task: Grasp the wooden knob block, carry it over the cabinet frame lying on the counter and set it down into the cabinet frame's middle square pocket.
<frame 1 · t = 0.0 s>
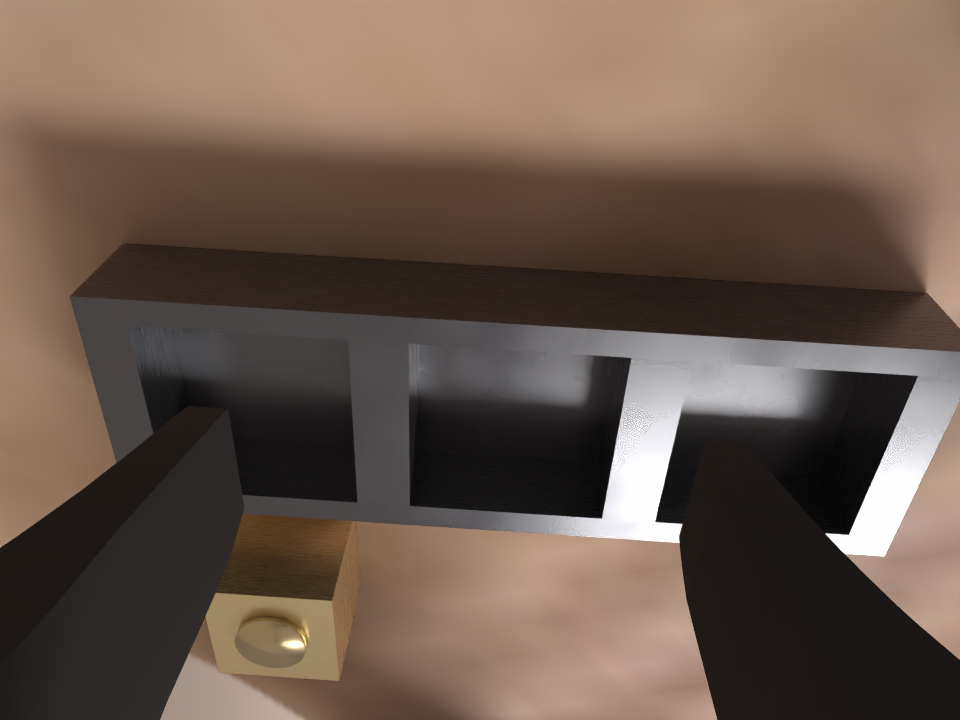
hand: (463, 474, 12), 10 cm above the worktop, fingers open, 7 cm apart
cabinet frame: (513, 373, 23), on the worktop
wooden knob block: (302, 543, 28), on the worktop
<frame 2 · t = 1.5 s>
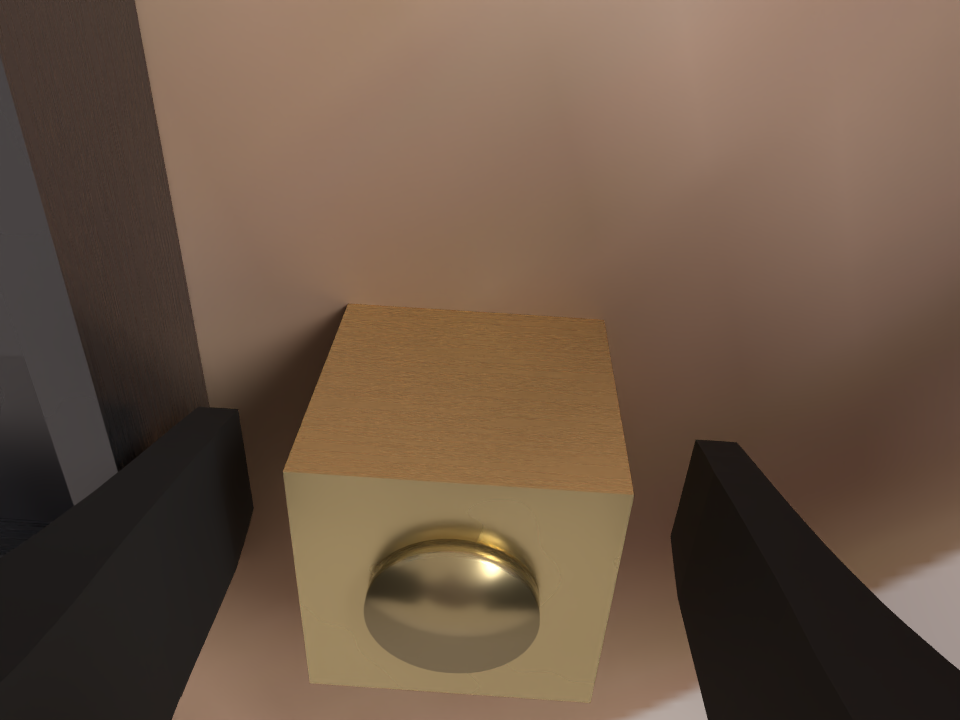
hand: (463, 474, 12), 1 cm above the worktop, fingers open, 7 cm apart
wooden knob block: (471, 410, 13), on the worktop
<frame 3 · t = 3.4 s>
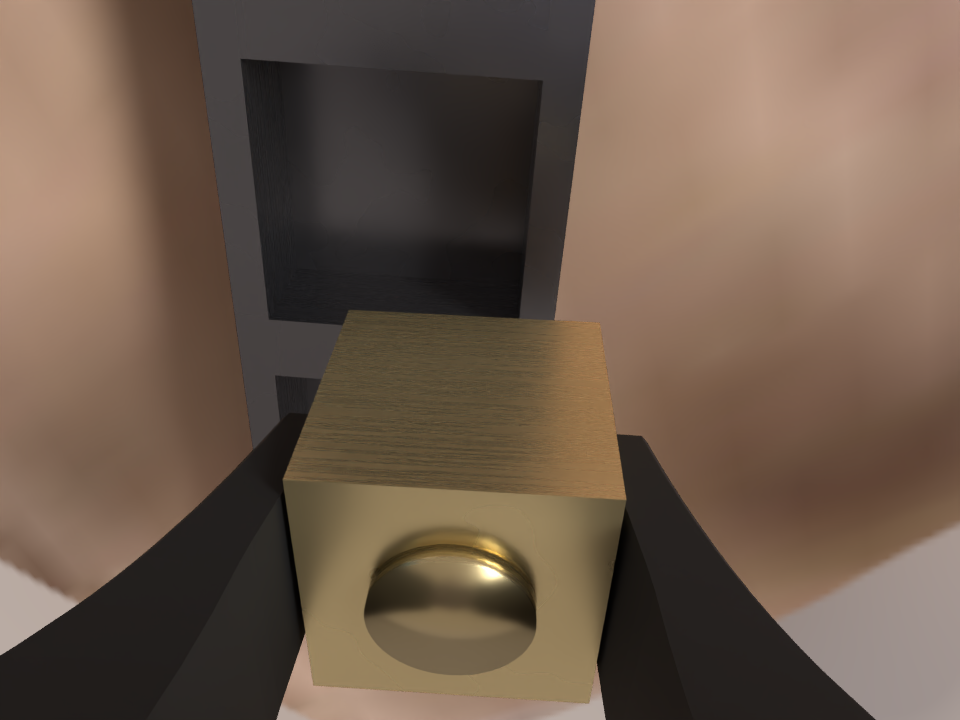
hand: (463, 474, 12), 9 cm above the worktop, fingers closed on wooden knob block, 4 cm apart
cabinet frame: (411, 161, 18), on the worktop
wooden knob block: (470, 415, 13), point 7 cm above the worktop, touching gripper
when the fingers open (3 cm above the worktop, at t = 5.0 s): wooden knob block stays where it is, resting on cabinet frame.
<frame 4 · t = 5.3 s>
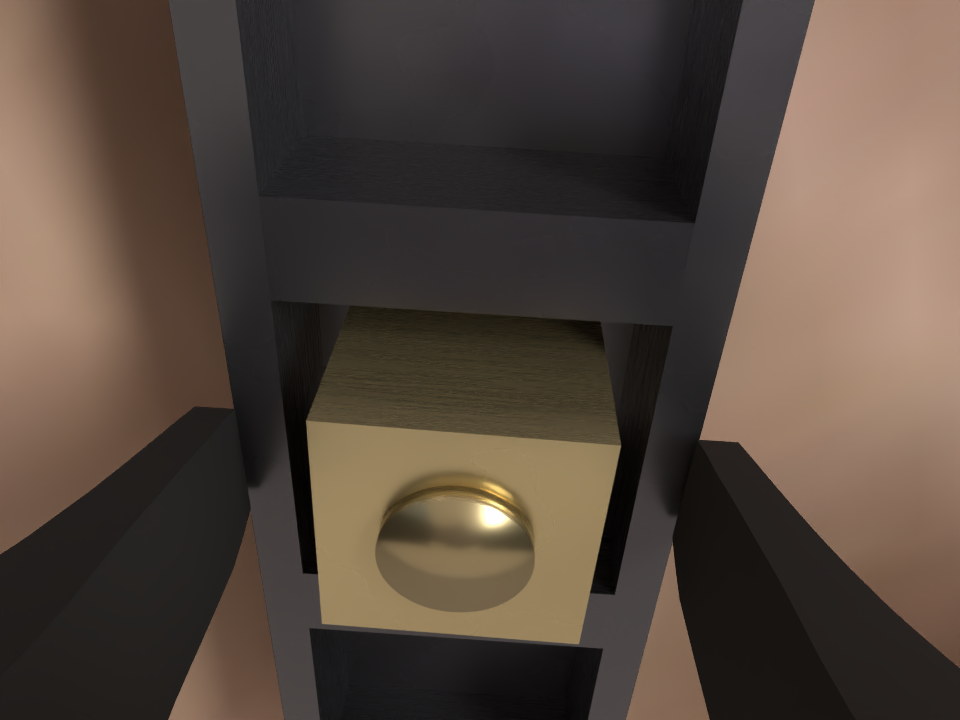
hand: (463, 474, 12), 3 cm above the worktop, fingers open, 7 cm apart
cabinet frame: (474, 359, 15), on the worktop
wooden knob block: (471, 381, 14), resting on cabinet frame
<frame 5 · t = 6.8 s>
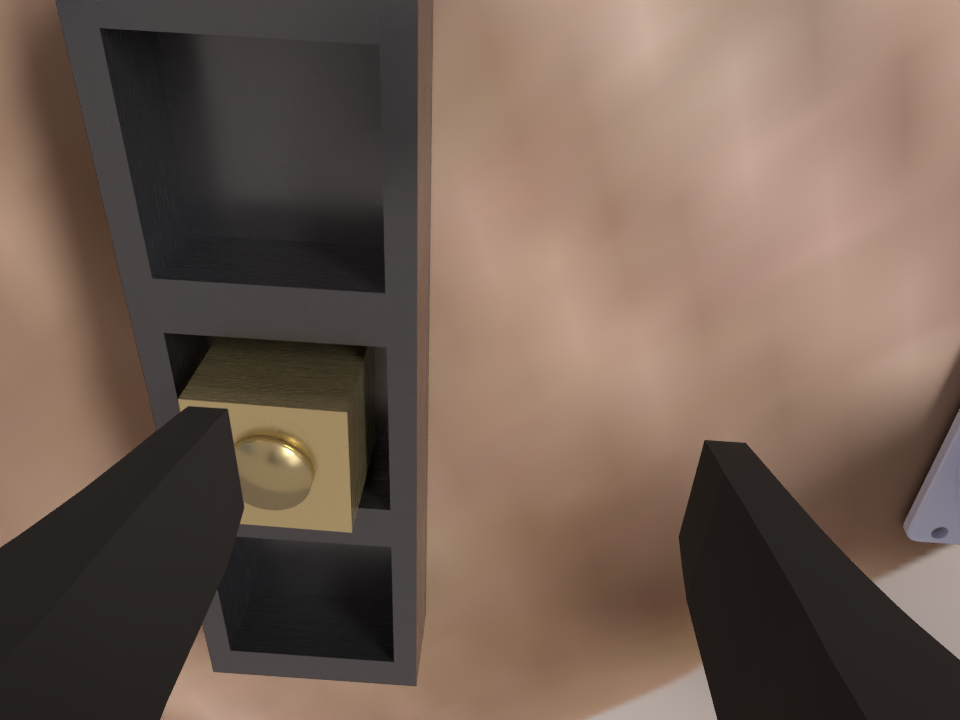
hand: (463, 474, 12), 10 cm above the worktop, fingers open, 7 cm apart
cabinet frame: (311, 365, 23), on the worktop
wooden knob block: (307, 378, 23), resting on cabinet frame
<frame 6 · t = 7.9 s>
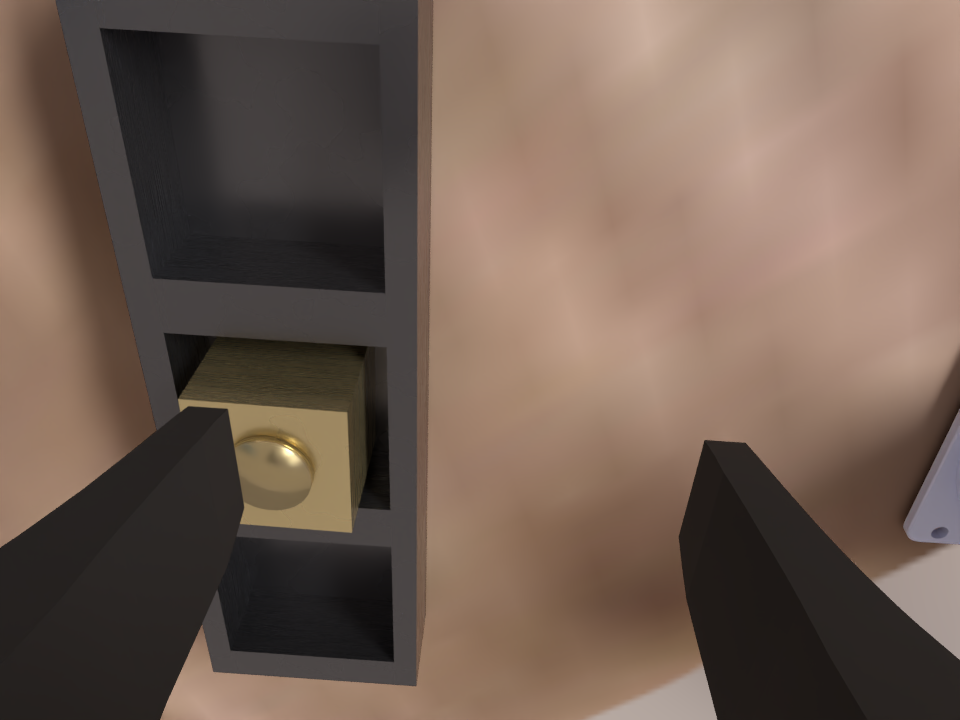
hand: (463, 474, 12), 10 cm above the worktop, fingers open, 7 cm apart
cabinet frame: (311, 365, 23), on the worktop
wooden knob block: (307, 378, 23), resting on cabinet frame
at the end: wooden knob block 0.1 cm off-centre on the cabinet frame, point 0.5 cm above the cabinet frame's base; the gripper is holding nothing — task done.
